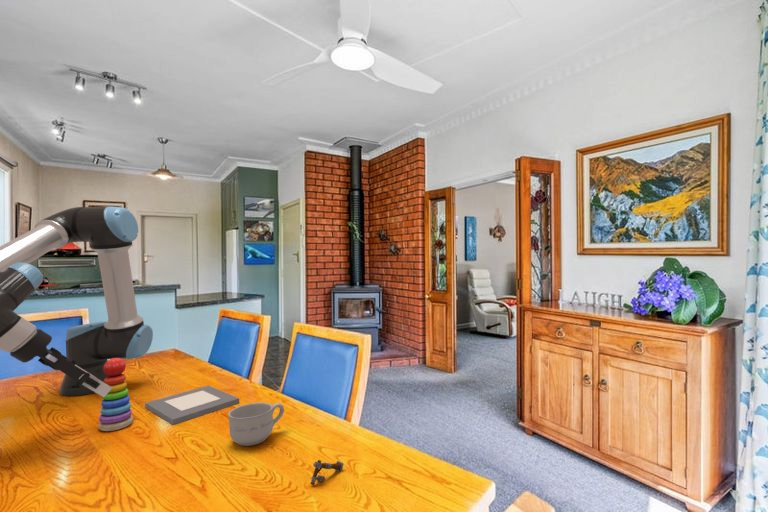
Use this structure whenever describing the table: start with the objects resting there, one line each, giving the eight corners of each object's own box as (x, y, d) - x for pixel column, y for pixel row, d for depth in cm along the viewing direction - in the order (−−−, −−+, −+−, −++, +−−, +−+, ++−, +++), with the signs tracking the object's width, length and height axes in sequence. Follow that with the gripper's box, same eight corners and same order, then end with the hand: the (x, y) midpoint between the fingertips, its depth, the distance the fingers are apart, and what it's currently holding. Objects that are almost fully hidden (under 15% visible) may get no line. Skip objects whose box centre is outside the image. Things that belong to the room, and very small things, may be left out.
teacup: (231, 455, 90) (230, 421, 90) (226, 436, 100) (226, 405, 100) (290, 441, 97) (290, 409, 97) (280, 424, 106) (280, 395, 106)
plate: (145, 407, 120) (145, 402, 120) (208, 389, 135) (208, 384, 135) (172, 424, 107) (172, 418, 107) (239, 403, 123) (239, 397, 123)
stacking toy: (140, 420, 110) (139, 354, 110) (118, 433, 103) (117, 362, 102) (114, 419, 111) (113, 354, 111) (90, 432, 103) (89, 362, 103)
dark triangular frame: (305, 482, 78) (312, 458, 79) (332, 482, 83) (338, 459, 85) (311, 486, 76) (317, 461, 78) (338, 485, 82) (344, 462, 84)
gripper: (0, 346, 98) (75, 389, 109) (16, 362, 82) (102, 411, 93) (28, 322, 102) (97, 366, 113) (49, 333, 86) (127, 383, 97)
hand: (100, 387), depth 103 cm, fingers open, 13 cm apart
